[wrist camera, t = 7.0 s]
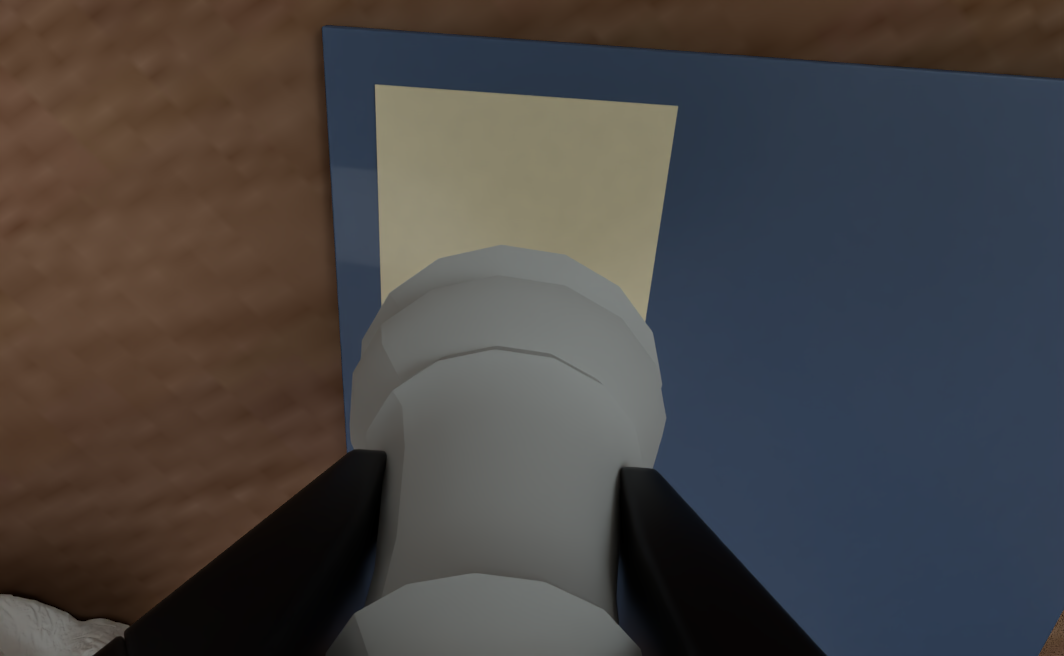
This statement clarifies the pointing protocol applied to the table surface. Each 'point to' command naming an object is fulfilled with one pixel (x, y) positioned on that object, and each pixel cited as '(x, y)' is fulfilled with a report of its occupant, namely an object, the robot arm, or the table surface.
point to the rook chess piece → (501, 457)
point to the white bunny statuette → (50, 630)
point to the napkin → (768, 294)
